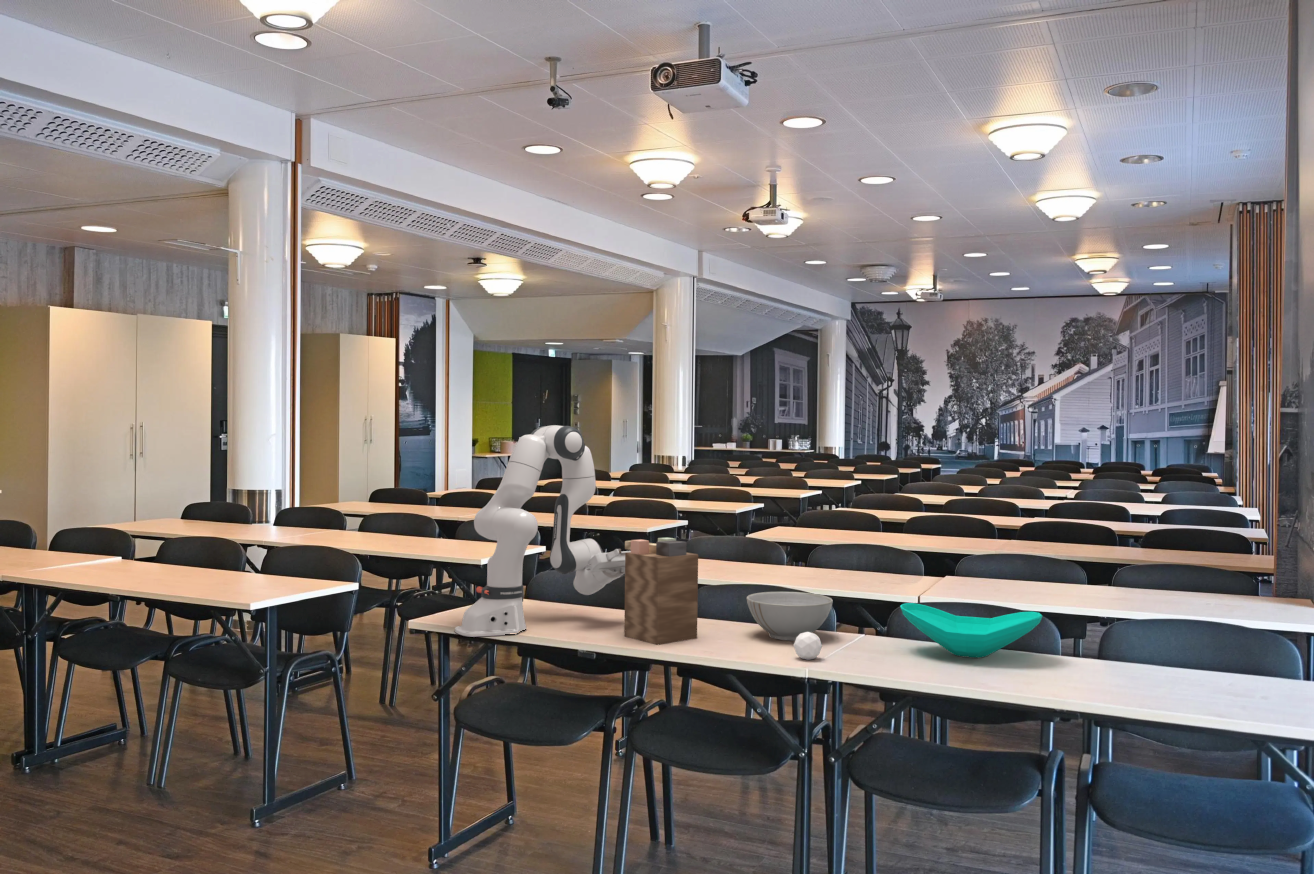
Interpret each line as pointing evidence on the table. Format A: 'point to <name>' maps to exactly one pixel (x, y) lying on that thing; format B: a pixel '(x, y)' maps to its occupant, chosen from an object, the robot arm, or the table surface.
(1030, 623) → the table top decor
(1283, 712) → the table surface
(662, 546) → the mallet
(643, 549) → the terracotta block
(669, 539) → the sage block
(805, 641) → the geometric ball
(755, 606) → the decorative bowl
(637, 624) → the pedestal
